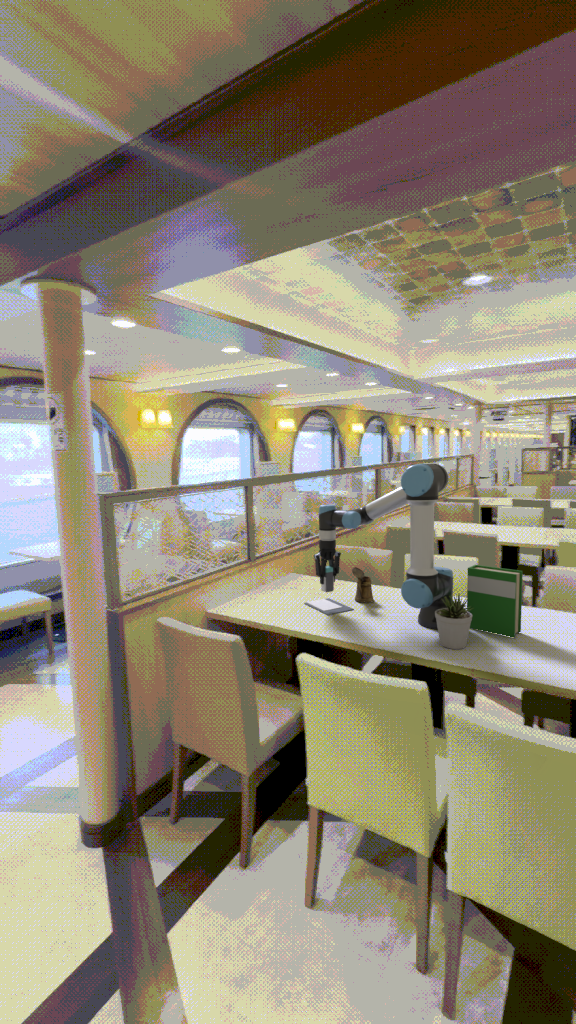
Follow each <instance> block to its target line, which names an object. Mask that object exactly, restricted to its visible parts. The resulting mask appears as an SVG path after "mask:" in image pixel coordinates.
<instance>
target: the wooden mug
mask: <svg viewBox="0 0 576 1024" xmlns="http://www.w3.org/2000/svg"><path fill="white" fill-rule="evenodd" d="M351 573H352V575H353V576H354V577H356V578H357V580H356V591H355V596H354V601H355V602H356V603H363V604H369V603H370V604H371V603H372V602H374V595H373V588H372V579H371V578H372V577H370V576H368V575H365V572H364V571H363V570H362V569H361V568H359V567H356V566H355V567H353V568H352V569H351Z"/></svg>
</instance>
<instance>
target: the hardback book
mask: <svg viewBox="0 0 576 1024" xmlns="http://www.w3.org/2000/svg"><path fill="white" fill-rule="evenodd" d="M523 572H524V571H523V570H518V569H510V568H502V567H495V566H488V565H481V564H474V565H472V566H469V567H467V582H466V583H467V584H466V585H467V589H466V590H467V592H466V593H467V594H466V597H467V598H468V600H467V598H466V600H467V602H466V608H467V607H469V608H468V609H466V610H469V609H471V610H469V611H468V612H470V613H471V614H472V621H471V624H470V629H471V628H473V629H472V630H475V629H478V630H477V631H479V630H483V631H482V632H484V631H488V632H492V633H497V634H502V635H506V636H510V637H515V638H516V634H518V633H517V632H522V605H523V601H522V599H523ZM467 595H468V596H467ZM470 606H471V607H470ZM472 608H473V609H472ZM488 632H487V633H488ZM492 633H491V634H492ZM497 634H496V635H497Z"/></svg>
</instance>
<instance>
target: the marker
mask: <svg viewBox="0 0 576 1024" xmlns="http://www.w3.org/2000/svg"><path fill="white" fill-rule="evenodd" d="M324 577H326V592H325V593H332V592H334V590H333V567H331V566H329V565H326V569H325V576H324Z"/></svg>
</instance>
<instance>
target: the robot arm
mask: <svg viewBox="0 0 576 1024" xmlns="http://www.w3.org/2000/svg"><path fill="white" fill-rule="evenodd" d="M448 483H449V474H448V472H447V470H446V468H445V467H443V466H442V465H441V464H438V463H415V464H412V465H410V466H408V467H407V468H406V469H405V470H404V471H403V473H402V475H401V478H400V487H398V488H396V489H394V490H392V491H390V492H388V493H387V494H384V495H382V496H380V497H379V498H376V499H375V500H373V501H370V502H369V503H367V504H366V505H364V506H362V507H360V508H355V509H348V510H346V509H345V510H343V509H342V510H341V509H340V510H339V509H337V506H336V505H335V504H321V505H319V508H318V538H319V540H318V548H319V550H318V553H316V554H313V558H314V564H315V576H317V577H319V584H320V585H321V588H320V589H321V590H320V591H322V592H324V593H327V592H326V577H324V576H325V569H326V566H327V563H328V566H331V567H333V591H334V590H335V587H334V586H335V582H336V577H337V575H339V574H340V573H339V572H340V560H341V559H340V558H341V555H342V553H341V552H340V551H337V549H336V547H337V540H336V538H337V528H341V529H342V528H343V529H349V530H352V529H353V530H355V529H358V527H359V526H363V525H364V526H365V525H370V524H372V523H373V522H374V521H375V520H376V519H379V518H381V517H383V516H384V515H386V514H389V513H391V512H393V511H395V510H397V509H399V508H402V507H404V506H406V505H408V504H409V505H410V506H409V507H410V508H409V510H410V511H409V513H410V515H409V516H410V520H409V521H410V522H409V523H410V526H409V528H410V529H409V531H410V532H409V537H410V538H409V539H410V541H409V543H410V544H409V545H410V546H409V548H410V550H409V552H410V555H409V556H410V558H409V559H410V561H409V562H410V566H409V567H408V568H407V569H406V571H405V574H406V575H405V581H403V583H402V585H401V588H400V593H401V597H402V599H403V600H404V602H406V603H407V605H408V606H410V607H411V608H414V609H418V610H419V613H418V616H417V623H418V624H419V625H421V626H422V627H426V628H429V629H434V630H438V628H437V621H436V617H435V611H436V610H438V609H442V608H447V606H446V605H445V603H446V601H445V599H446V598H447V599H448V600H449V602H450V603H451V598H450V597H451V595H452V599H453V600H454V594H453V593H454V572H453V570H452V569H450V568H448V567H441V566H435V565H434V563H435V562H434V561H435V556H434V555H435V553H434V552H435V504H436V503H437V502H438V501H439V493H440V492H442V491H443V490H445V488H446V487H447V485H448ZM449 596H450V597H449ZM444 597H446V598H444ZM447 599H446V600H447ZM443 601H444V602H445V603H444V602H443ZM447 602H448V601H447Z"/></svg>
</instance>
